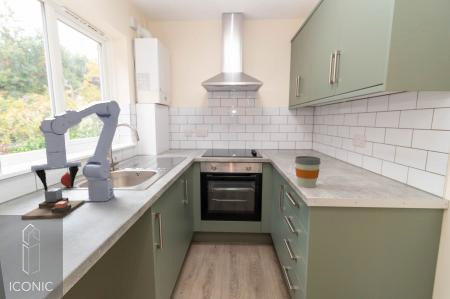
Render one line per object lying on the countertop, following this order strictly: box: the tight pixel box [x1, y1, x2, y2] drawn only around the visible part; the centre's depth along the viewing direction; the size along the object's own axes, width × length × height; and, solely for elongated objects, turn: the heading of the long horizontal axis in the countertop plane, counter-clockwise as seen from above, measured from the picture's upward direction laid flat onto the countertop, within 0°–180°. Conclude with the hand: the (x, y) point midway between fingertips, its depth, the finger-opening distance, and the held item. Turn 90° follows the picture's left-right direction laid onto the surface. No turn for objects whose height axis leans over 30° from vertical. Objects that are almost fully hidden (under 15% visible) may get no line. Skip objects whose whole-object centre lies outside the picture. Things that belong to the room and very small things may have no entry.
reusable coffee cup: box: [294, 155, 321, 189], centre depth 120 cm, size 12×13×15 cm
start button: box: [55, 201, 67, 208], centre depth 84 cm, size 3×3×2 cm
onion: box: [60, 171, 71, 188], centre depth 117 cm, size 6×6×8 cm
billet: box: [44, 187, 64, 203], centre depth 90 cm, size 4×4×6 cm
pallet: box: [20, 197, 86, 220], centre depth 87 cm, size 14×15×3 cm
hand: (59, 188), depth 83 cm, fingers open, 7 cm apart
